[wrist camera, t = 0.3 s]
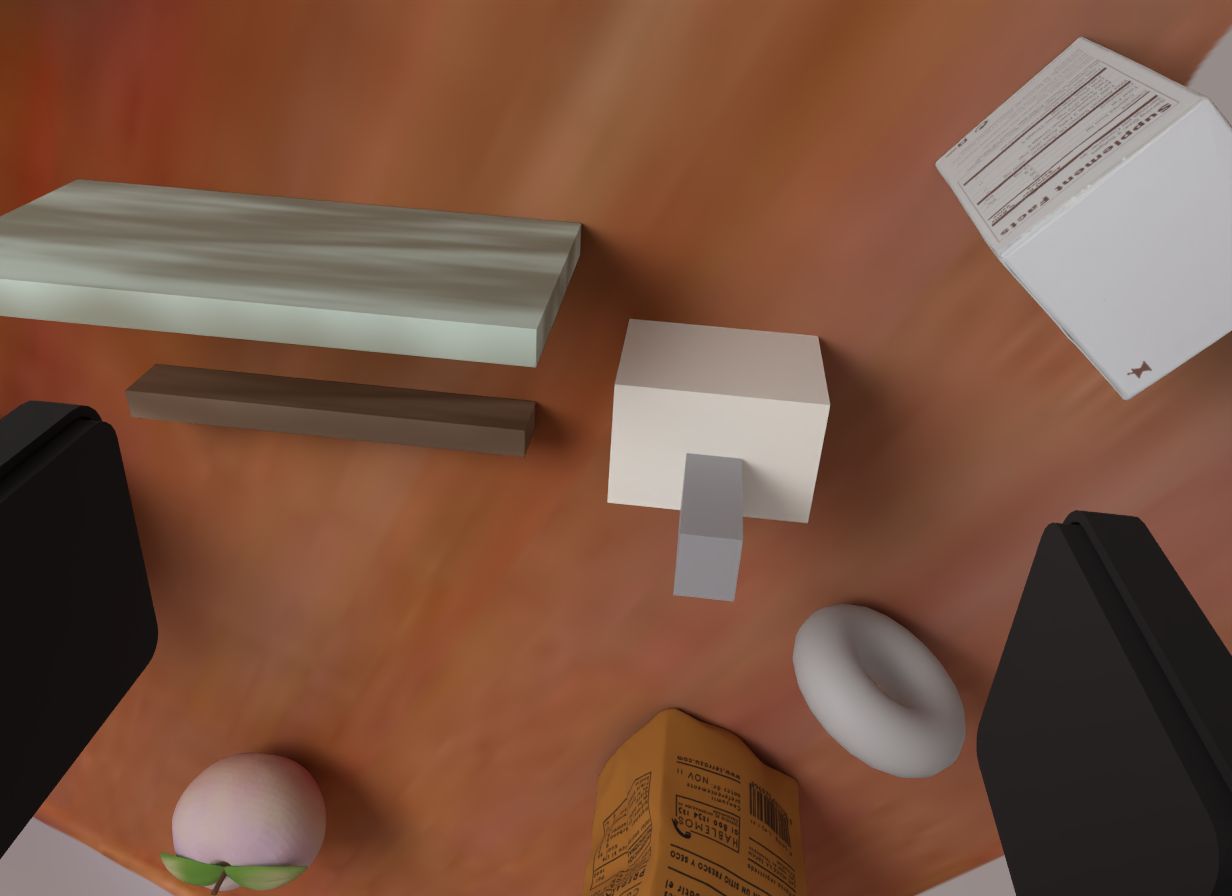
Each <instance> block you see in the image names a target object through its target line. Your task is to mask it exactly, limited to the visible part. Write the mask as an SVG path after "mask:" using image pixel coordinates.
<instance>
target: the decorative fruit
mask: <svg viewBox="0 0 1232 896" xmlns="http://www.w3.org/2000/svg"><path fill="white" fill-rule="evenodd" d="M172 831H173V842H174V848H175V852H176V856H173V855H170V854H166V853H162V852H161V853H160V854H161V859H162V861H163V863H164V865H165V866H166V868H167V869H168V870H169V871H170V873H172V874H173V875H174V876H175V877H176V878H178V879H180V880H182V881H184V882H186V883H189V884H192V885H199V886H204V887H207V888H209V889H213V890H212V892H211V894H212V895H216V894H217V893H218V891H227V890H232V889H236V888H238V887H240V886H242V887H245V888H248V889H253V890H270V889H274V888H277V887H280V886H282V885H285V884H287V883H289V882H291V881H292V880H294V879H295V878H297V877H298V876H299V875H300V874H302V873H303V872H304V871H305V870H306V869H307V868H308V867H309V866H310V865H311V863H312V862H313V861H314V859H315V858H316V856H317V854H318V853H319V851H320V848H321V845H322V843H323V840H324V836H325V831H326V809H325V804H324V800H323V796H322V794H321V791H320V789H319V787H318V785H317V784H316V782H315V780H314V779H313V777H312V776H311V774H310V773H309V772H308V771H307V770H306V769H305V768H304V767H303V766H302V765H300V764H298V763H297V762H295V761H293V760H291V759H289V758H286V757H283V756H279V755H272V754H262V753H242V754H236V755H233V756H229V757H226V758H223V759H221V760H219V761H217V762H215V763H214V764H212V765H211V766H209V767H208V768H206V769H205V770H204V771H203V772H202V773H200V774H199V775H198V776H197V777H196V778H195V779H194V780H193V781H192V782H191V784H190V785H189V786H188V787H187V788H186V790H185V791H184V793H183V794H182V796H181V797H180V799H179V801H178V803H177V805H176V808H175V811H174V815H173V820H172Z"/></svg>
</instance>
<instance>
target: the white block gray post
mask: <svg viewBox="0 0 1232 896" xmlns="http://www.w3.org/2000/svg"><path fill="white" fill-rule="evenodd" d="M829 409H830V401H829V395H828V390H827V384H826V378H825V373H824V367H823V362H822V356H821V350H820V345H819V339H818V336H811V335H800V334H789V333H778V332H768V331H757V330H746V329H735V328H725V327H714V326H703V325H692V324H682V323H671V322H660V321H649V320H639V319H629V324H628V328H627V332H626V337H625V341H624V346H623V350H622V354H621V359H620V363H619V368H618V372H617V376H616V381H615V388H614V404H613V420H612V437H611V453H610V469H609V485H608V501H607V502H608V503H618V504H628V505H637V506H647V507H656V508H666V509H676V510H680V520H679V532H678V545H677V557H676V569H675V581H674V593H673V595H679V596H688V597H698V598H707V599H716V600H725V601H734V597H735V590H736V583H737V577H738V570H739V564H740V557H741V550H742V544H743V517H753V518H762V519H772V520H782V521H791V522H801V523H808V519H809V514H810V509H811V504H812V498H813V493H814V488H815V483H816V477H817V472H818V467H819V462H820V456H821V451H822V446H823V441H824V435H825V430H826V425H827V420H828V414H829Z"/></svg>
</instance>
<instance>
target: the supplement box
mask: <svg viewBox="0 0 1232 896" xmlns="http://www.w3.org/2000/svg"><path fill="white" fill-rule="evenodd" d="M936 167H937V169H938V170H939V172H940V173H941V175H942V176H943V178H944V179H945V180H946V182H947V183H948V184H949V186H950V187H951V189H952V190H953V192H954V193H955V195H956V197H957V198H958V200H959V201H960V203H961V204H962V206H963V207H964V209H965V211H966V212H967V214H968V215H969V217H970V218H971V220H972V221H973V223H974V224H975V226H976V227H977V229H978V231H979V232H980V234H981V235H982V237H983V238H984V240H985V241H986V243H987V244H988V246H989V247H990V248H991V250H992V251H993V252H994V254H995V255H996V256H997V258H998V259H999V260H1000V262H1001V263H1002V264H1003V265H1004V266H1005V267H1006V268H1007V270H1008V271H1009V272H1010V273H1011V274H1012V275H1013V276H1014V277H1015V278H1016V280H1017V281H1018V282H1019V283H1020V284H1021V285H1022V286H1023V287H1024V288H1025V290H1026V291H1027V292H1028V293H1029V294H1030V295H1031V296H1032V297H1033V298H1034V300H1035V301H1036V302H1037V303H1038V304H1039V305H1040V306H1041V307H1042V308H1043V310H1044V311H1045V312H1046V313H1047V314H1048V315H1049V316H1050V318H1051V319H1052V320H1053V321H1054V322H1055V323H1056V324H1057V326H1058V327H1059V328H1060V329H1061V330H1062V331H1063V333H1064V334H1065V335H1066V336H1067V337H1068V338H1069V340H1071V341H1072V342H1073V343H1074V344H1075V345H1076V346H1077V347H1078V348H1079V350H1080V351H1081V352H1082V353H1083V354H1084V355H1085V356H1086V357H1087V359H1088V360H1089V361H1090V362H1091V363H1092V364H1093V365H1094V366H1095V368H1096V369H1097V370H1098V371H1099V372H1100V373H1101V374H1102V375H1103V377H1104V378H1105V379H1106V380H1107V381H1108V382H1109V383H1110V384H1111V386H1112V387H1113V388H1114V389H1115V390H1116V391H1117V393H1118V394H1119V395H1120V396H1121V397H1122V398H1123V399H1124V400H1130V399H1131V398H1133V397H1134V396H1136V395H1137V394H1138V393H1140V392H1141V391H1143V390H1144V389H1145V388H1147V387H1148V386H1150V385H1152V384H1153V383H1155V382H1156V381H1158V380H1159V379H1161V378H1162V377H1164V376H1165V375H1167V374H1168V373H1170V372H1171V371H1173V370H1174V369H1176V368H1177V367H1179V366H1180V365H1182V364H1183V363H1185V362H1186V361H1187V360H1189V359H1190V358H1192V357H1193V356H1195V355H1196V354H1198V353H1199V352H1201V351H1202V350H1204V349H1205V348H1207V347H1208V346H1210V345H1211V344H1213V343H1214V342H1216V341H1217V340H1219V339H1220V338H1222V337H1223V336H1225V335H1226V334H1227V333H1229V332H1230V331H1232V126H1231V125H1230V123H1229V122H1228V121H1227V120H1226V118H1225V117H1224V116H1223V115H1222V114H1221V112H1220V111H1219V110H1218V108H1217V107H1216V106H1215V105H1214V103H1213V102H1212V101H1211V100H1210V99H1209V98H1208V97H1206V96H1204V95H1202V94H1200V93H1197V92H1195V91H1193V90H1191V89H1190V88H1188V87H1185V86H1183V85H1181V84H1179V83H1177V82H1175V81H1173V80H1170V79H1169V78H1167V77H1165V76H1163V75H1161V74H1159V73H1157V72H1155V71H1153V70H1151V69H1149V68H1147V67H1145V66H1143V65H1141V64H1139V63H1137V62H1135V61H1133V60H1131V59H1129V58H1126V57H1124V56H1122V55H1120V54H1118V53H1116V52H1114V51H1112V50H1110V49H1108V48H1105V47H1103V46H1101V45H1099V44H1097V43H1094V42H1092V41H1090V40H1088V39H1086V38H1084V37H1080V38H1078V39H1077V40H1076V41H1075V42H1074V43H1073V44H1072V45H1070V46H1069V47H1068V48H1067V49H1066V50H1065V51H1063V52H1062V53H1061V54H1060V55H1059V56H1057V57H1056V58H1055V59H1054V60H1053V61H1052V62H1050V63H1049V64H1048V65H1047V66H1046V67H1045V68H1044V69H1043V70H1041V71H1040V72H1039V73H1038V74H1037V75H1035V76H1034V77H1033V78H1032V79H1031V80H1030V81H1029V82H1028V83H1026V84H1025V85H1024V86H1023V87H1022V88H1020V89H1019V90H1018V91H1017V92H1016V93H1015V94H1013V95H1012V96H1011V97H1010V98H1009V99H1008V100H1007V101H1005V102H1004V103H1003V104H1002V105H1001V106H1000V107H998V108H997V109H996V110H995V111H994V112H993V113H992V114H990V115H989V116H988V117H987V118H986V119H985V120H983V121H982V122H981V123H980V124H979V125H978V126H976V127H975V128H974V129H973V130H972V131H971V132H970V133H968V134H967V135H966V136H965V137H964V138H963V139H961V140H960V141H959V142H958V143H957V144H956V145H955V146H954V147H952V148H951V149H950V150H949V151H948V152H947V153H945V154H944V155H943V156H942V157H941V158H940V159H939V160H938V161H937V162H936Z"/></svg>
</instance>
